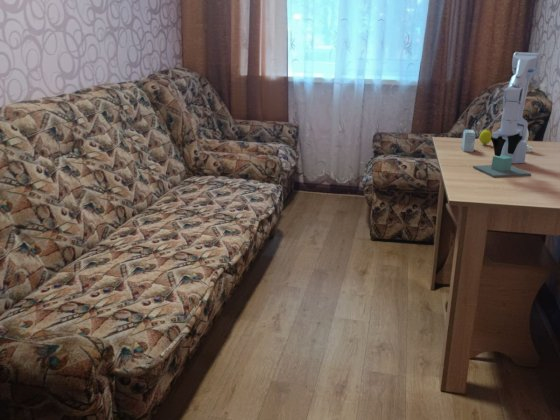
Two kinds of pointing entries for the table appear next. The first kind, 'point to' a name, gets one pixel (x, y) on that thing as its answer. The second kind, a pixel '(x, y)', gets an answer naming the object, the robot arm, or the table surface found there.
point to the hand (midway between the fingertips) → (503, 154)
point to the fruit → (485, 137)
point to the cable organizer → (526, 143)
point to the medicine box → (468, 140)
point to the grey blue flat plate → (496, 173)
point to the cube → (501, 163)
